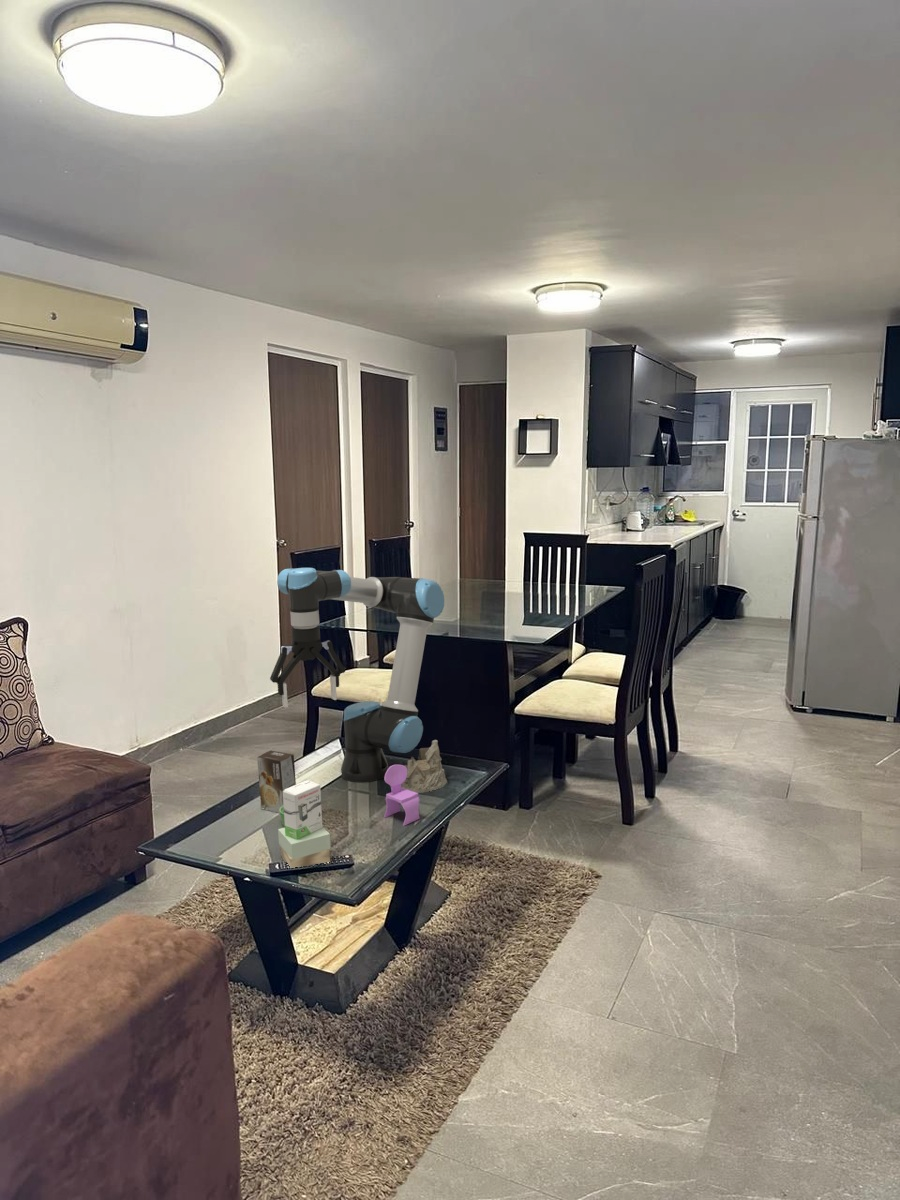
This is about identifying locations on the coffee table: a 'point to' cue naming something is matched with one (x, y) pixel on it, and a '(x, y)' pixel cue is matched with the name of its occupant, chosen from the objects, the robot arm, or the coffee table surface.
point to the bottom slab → (306, 859)
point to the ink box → (302, 809)
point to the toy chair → (400, 795)
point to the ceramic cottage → (425, 771)
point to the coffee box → (275, 778)
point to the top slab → (304, 843)
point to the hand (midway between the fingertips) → (309, 702)
